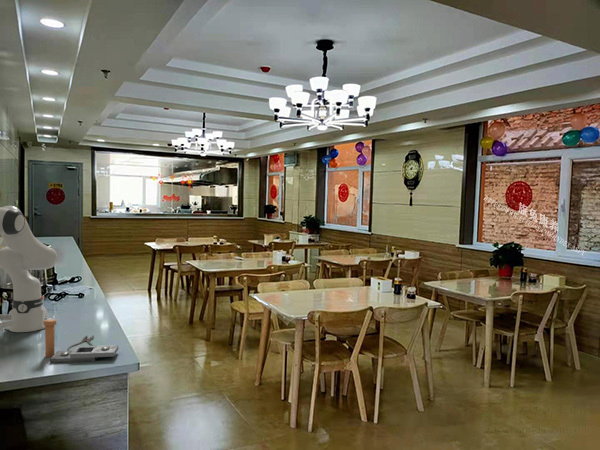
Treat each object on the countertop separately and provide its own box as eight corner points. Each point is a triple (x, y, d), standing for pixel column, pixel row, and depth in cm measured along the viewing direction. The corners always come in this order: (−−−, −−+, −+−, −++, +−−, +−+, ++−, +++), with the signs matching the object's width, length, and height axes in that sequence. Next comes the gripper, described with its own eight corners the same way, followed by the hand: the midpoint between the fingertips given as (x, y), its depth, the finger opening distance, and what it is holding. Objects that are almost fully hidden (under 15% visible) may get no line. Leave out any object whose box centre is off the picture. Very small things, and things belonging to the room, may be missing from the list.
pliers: (66, 351, 182) (70, 336, 200) (66, 353, 182) (70, 338, 200) (92, 349, 186) (94, 334, 204) (92, 351, 186) (94, 336, 204)
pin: (45, 354, 179) (45, 319, 179) (57, 353, 180) (57, 319, 179) (41, 357, 175) (41, 322, 174) (54, 357, 176) (54, 322, 175)
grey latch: (57, 355, 179) (57, 345, 178) (118, 352, 183) (118, 343, 183) (49, 363, 170) (49, 353, 170) (114, 360, 175) (114, 350, 175)
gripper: (-30, 322, 151) (18, 316, 161) (-35, 310, 167) (9, 305, 176) (-30, 340, 152) (18, 334, 161) (-35, 327, 167) (9, 321, 176)
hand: (13, 319), depth 169 cm, fingers open, 8 cm apart
